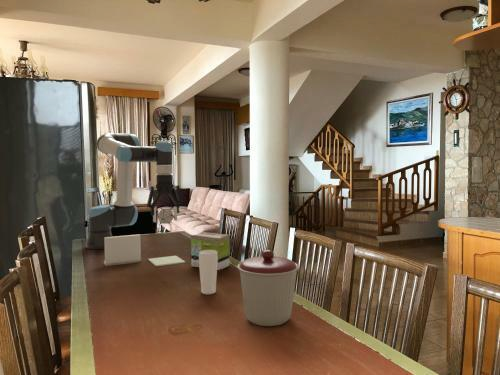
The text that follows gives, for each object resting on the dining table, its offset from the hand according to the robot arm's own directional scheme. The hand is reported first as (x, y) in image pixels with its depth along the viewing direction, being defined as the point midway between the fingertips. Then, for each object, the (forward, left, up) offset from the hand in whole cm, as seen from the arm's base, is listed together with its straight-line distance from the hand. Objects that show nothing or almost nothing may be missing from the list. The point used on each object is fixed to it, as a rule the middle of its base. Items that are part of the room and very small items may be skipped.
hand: (165, 221), depth 188 cm
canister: (+85, +6, -20) cm, 87 cm away
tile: (0, 0, -20) cm, 20 cm away
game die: (0, 0, -2) cm, 2 cm away
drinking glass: (+53, 0, -20) cm, 57 cm away
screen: (-8, -19, -20) cm, 28 cm away
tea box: (+19, +15, -20) cm, 31 cm away
